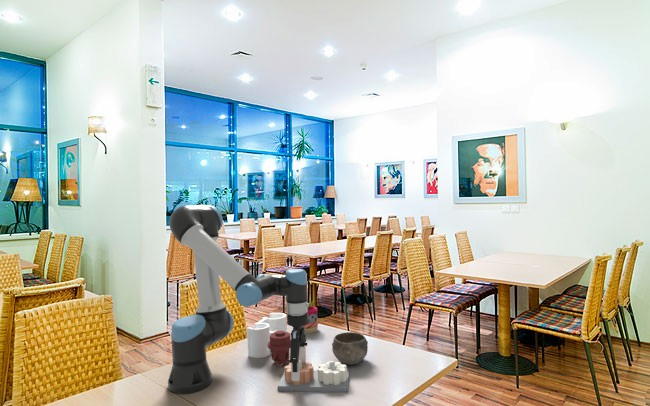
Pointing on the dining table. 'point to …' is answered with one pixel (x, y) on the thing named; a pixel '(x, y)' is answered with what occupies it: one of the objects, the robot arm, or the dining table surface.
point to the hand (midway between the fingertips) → (299, 371)
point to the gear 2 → (332, 373)
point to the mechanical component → (280, 346)
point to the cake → (311, 319)
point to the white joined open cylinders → (264, 334)
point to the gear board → (314, 383)
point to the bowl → (350, 347)
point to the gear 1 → (305, 373)
